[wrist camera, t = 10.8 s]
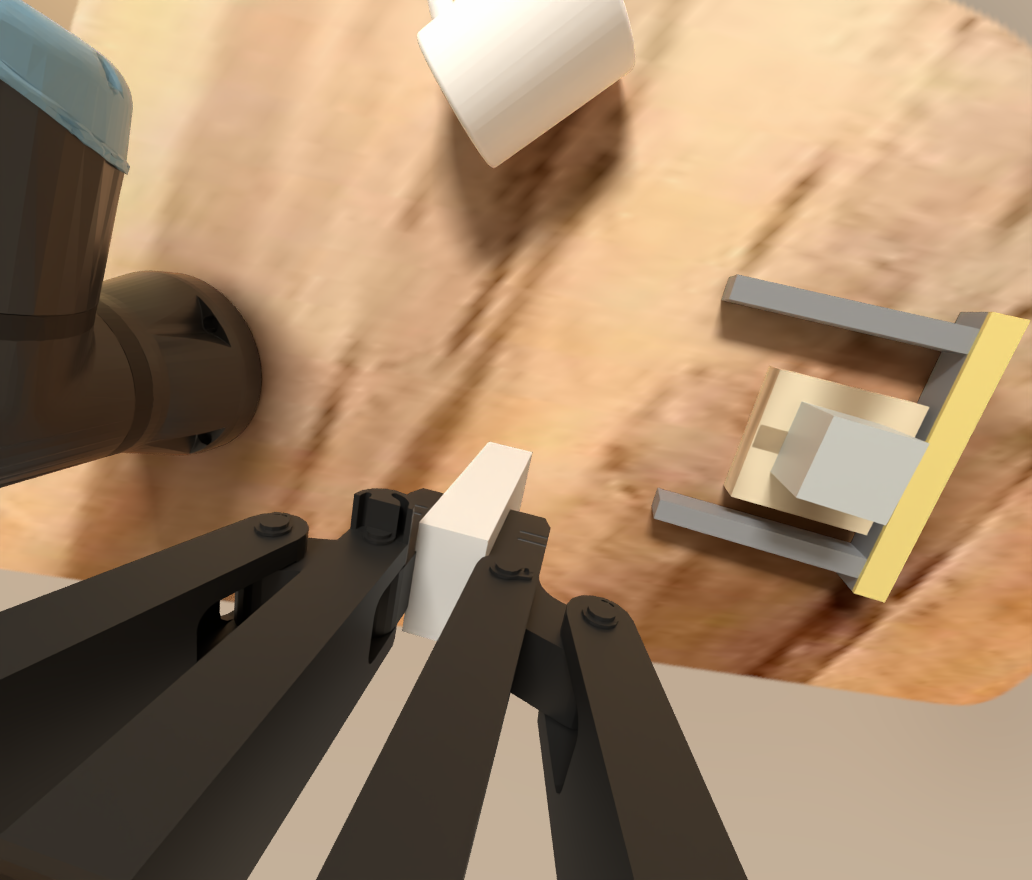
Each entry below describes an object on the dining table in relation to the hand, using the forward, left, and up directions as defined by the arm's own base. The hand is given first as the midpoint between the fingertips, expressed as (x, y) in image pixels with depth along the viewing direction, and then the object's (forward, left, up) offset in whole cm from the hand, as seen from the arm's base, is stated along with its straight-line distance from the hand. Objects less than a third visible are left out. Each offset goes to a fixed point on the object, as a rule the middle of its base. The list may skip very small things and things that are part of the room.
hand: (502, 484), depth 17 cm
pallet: (+17, +1, -22) cm, 28 cm away
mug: (-8, +21, -22) cm, 31 cm away
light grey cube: (+17, +1, -19) cm, 26 cm away
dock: (+16, +2, -22) cm, 27 cm away
